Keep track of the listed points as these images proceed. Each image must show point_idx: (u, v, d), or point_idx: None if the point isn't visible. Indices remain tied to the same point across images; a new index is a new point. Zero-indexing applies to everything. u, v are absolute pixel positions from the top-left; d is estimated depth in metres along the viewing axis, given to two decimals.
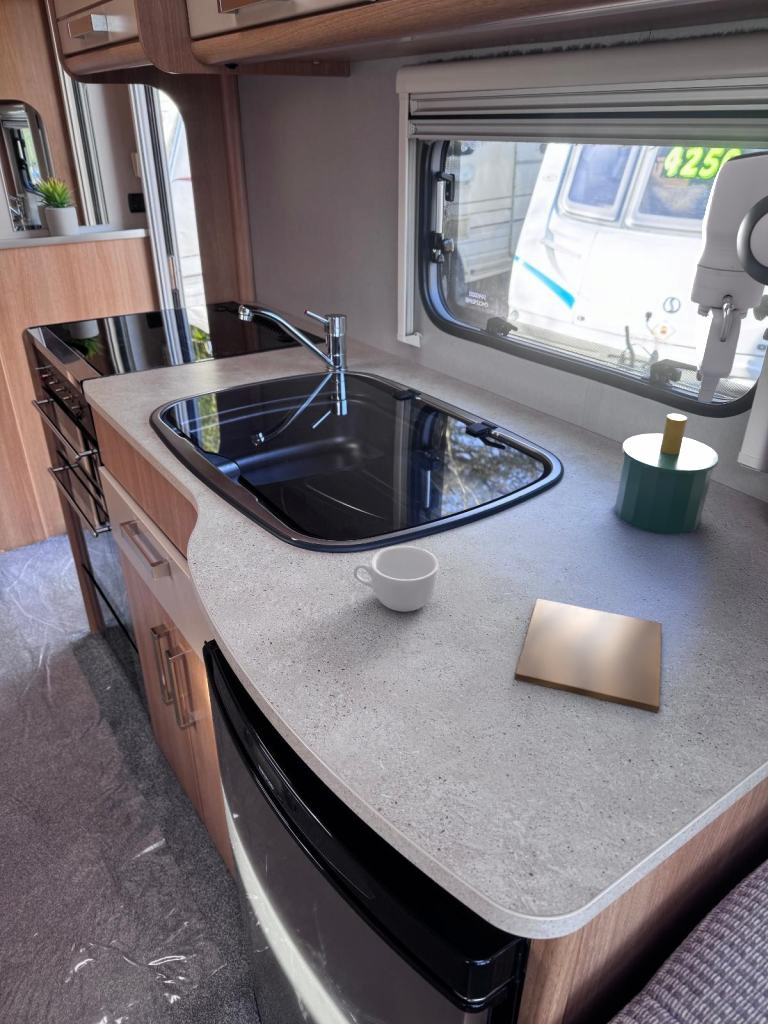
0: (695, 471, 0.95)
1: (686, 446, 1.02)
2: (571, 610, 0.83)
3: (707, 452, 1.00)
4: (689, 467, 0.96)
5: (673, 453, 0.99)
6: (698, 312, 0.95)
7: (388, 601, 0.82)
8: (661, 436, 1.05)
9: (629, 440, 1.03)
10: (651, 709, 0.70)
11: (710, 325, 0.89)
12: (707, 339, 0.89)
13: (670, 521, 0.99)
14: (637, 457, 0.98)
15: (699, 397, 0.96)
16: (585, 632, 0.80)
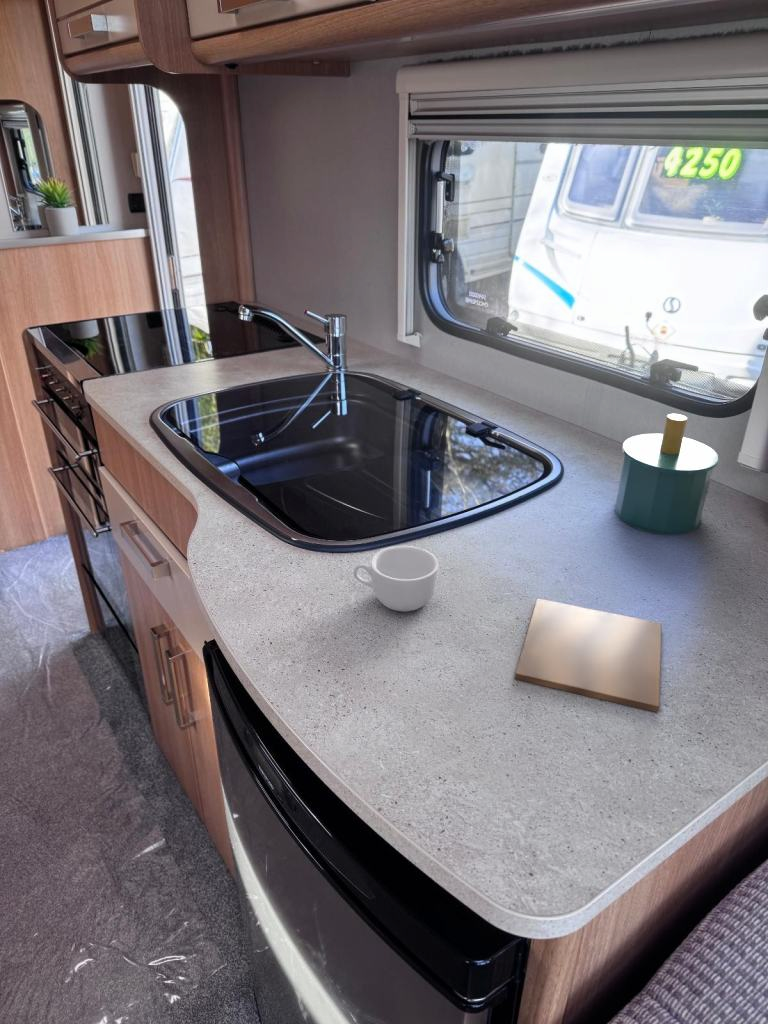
0: (695, 471, 0.95)
1: (686, 446, 1.02)
2: (571, 610, 0.83)
3: (707, 452, 1.00)
4: (689, 467, 0.96)
5: (673, 453, 0.99)
6: None
7: (388, 601, 0.82)
8: (661, 436, 1.05)
9: (629, 440, 1.03)
10: (651, 709, 0.70)
11: None
12: None
13: (670, 521, 0.99)
14: (637, 457, 0.98)
15: None
16: (585, 632, 0.80)
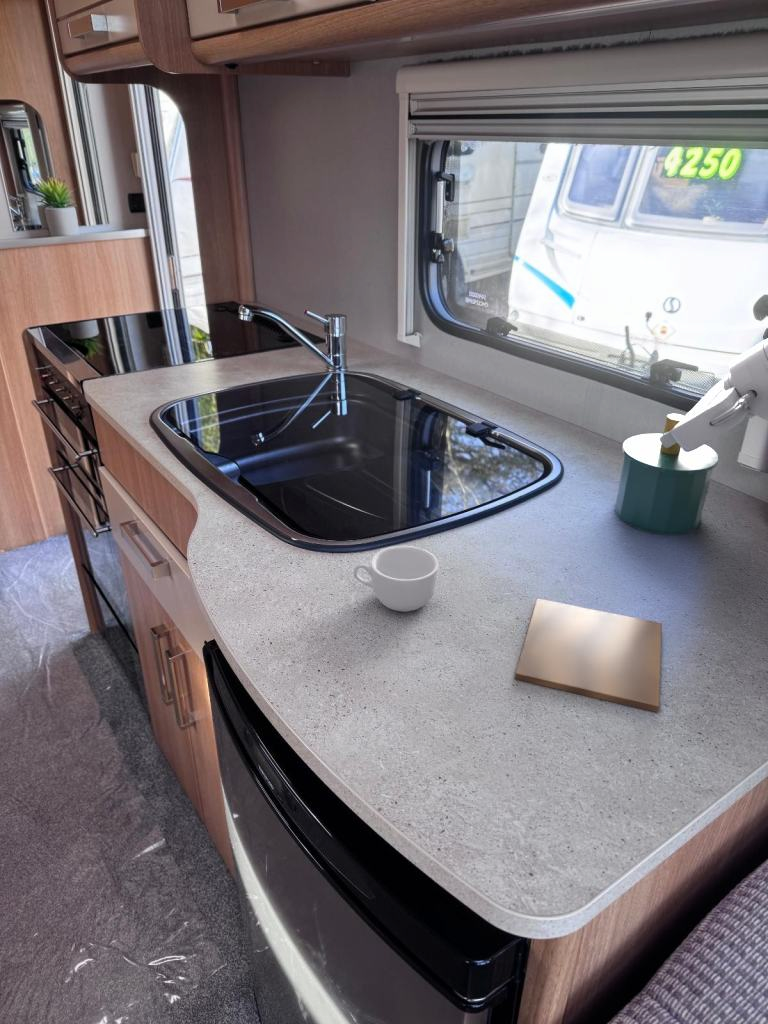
0: (695, 471, 0.95)
1: None
2: (571, 610, 0.83)
3: (707, 452, 1.00)
4: (689, 467, 0.96)
5: (673, 453, 0.99)
6: (724, 380, 0.91)
7: (388, 601, 0.82)
8: None
9: (629, 440, 1.03)
10: (651, 709, 0.70)
11: (716, 403, 0.86)
12: (703, 411, 0.87)
13: (670, 521, 0.99)
14: (637, 457, 0.98)
15: (662, 436, 0.97)
16: (585, 632, 0.80)
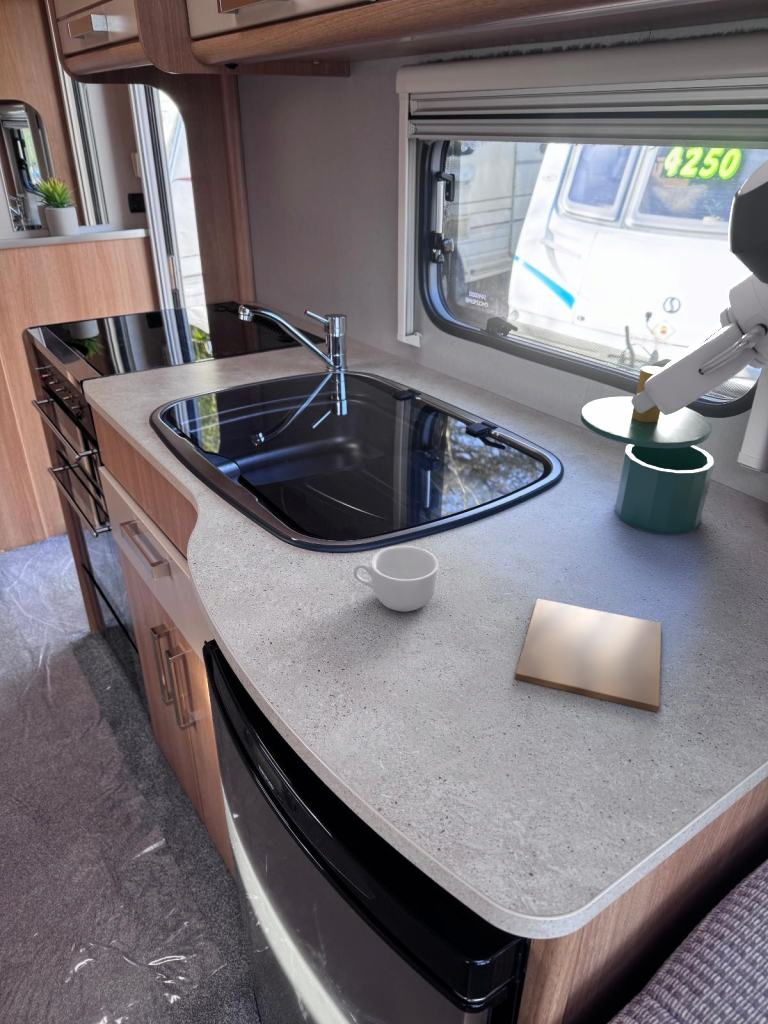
0: (678, 444, 0.68)
1: None
2: (571, 610, 0.83)
3: (696, 420, 0.73)
4: (670, 439, 0.68)
5: (649, 420, 0.72)
6: (721, 314, 0.64)
7: (388, 601, 0.82)
8: None
9: (592, 404, 0.76)
10: (651, 709, 0.70)
11: (708, 342, 0.59)
12: (689, 354, 0.59)
13: (670, 521, 0.99)
14: (599, 425, 0.71)
15: (635, 397, 0.70)
16: (585, 632, 0.80)
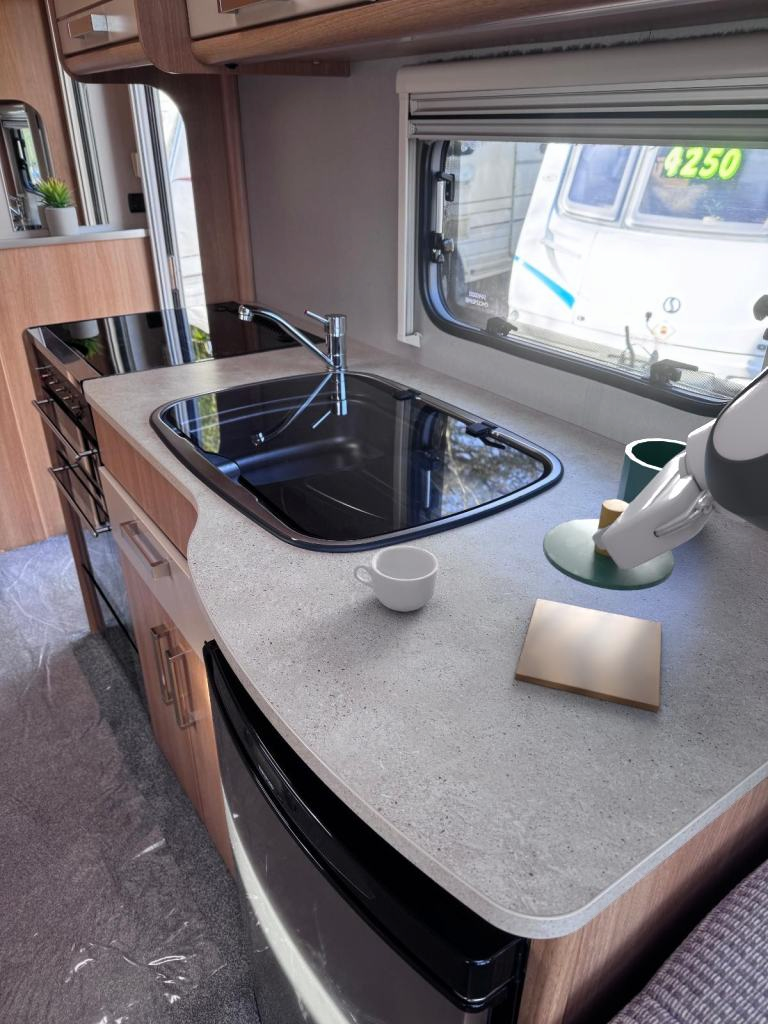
0: (639, 586, 0.67)
1: None
2: (571, 610, 0.83)
3: None
4: (631, 580, 0.67)
5: None
6: (680, 462, 0.63)
7: (388, 601, 0.82)
8: None
9: (555, 530, 0.75)
10: (651, 709, 0.70)
11: (663, 504, 0.57)
12: (644, 515, 0.58)
13: None
14: (560, 561, 0.70)
15: (596, 534, 0.69)
16: (585, 632, 0.80)
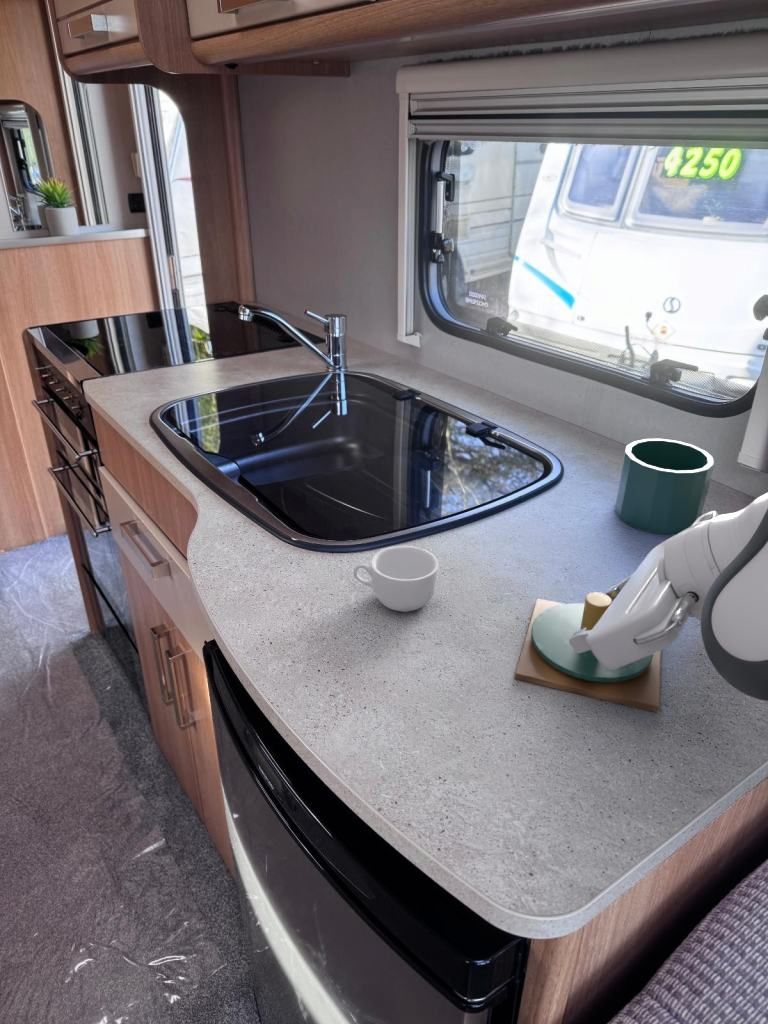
0: (619, 678, 0.72)
1: None
2: None
3: None
4: (612, 671, 0.72)
5: None
6: (659, 566, 0.68)
7: (388, 601, 0.82)
8: None
9: (543, 616, 0.80)
10: (651, 709, 0.70)
11: (642, 615, 0.62)
12: (624, 623, 0.63)
13: (670, 521, 0.99)
14: (547, 651, 0.75)
15: (572, 639, 0.72)
16: None
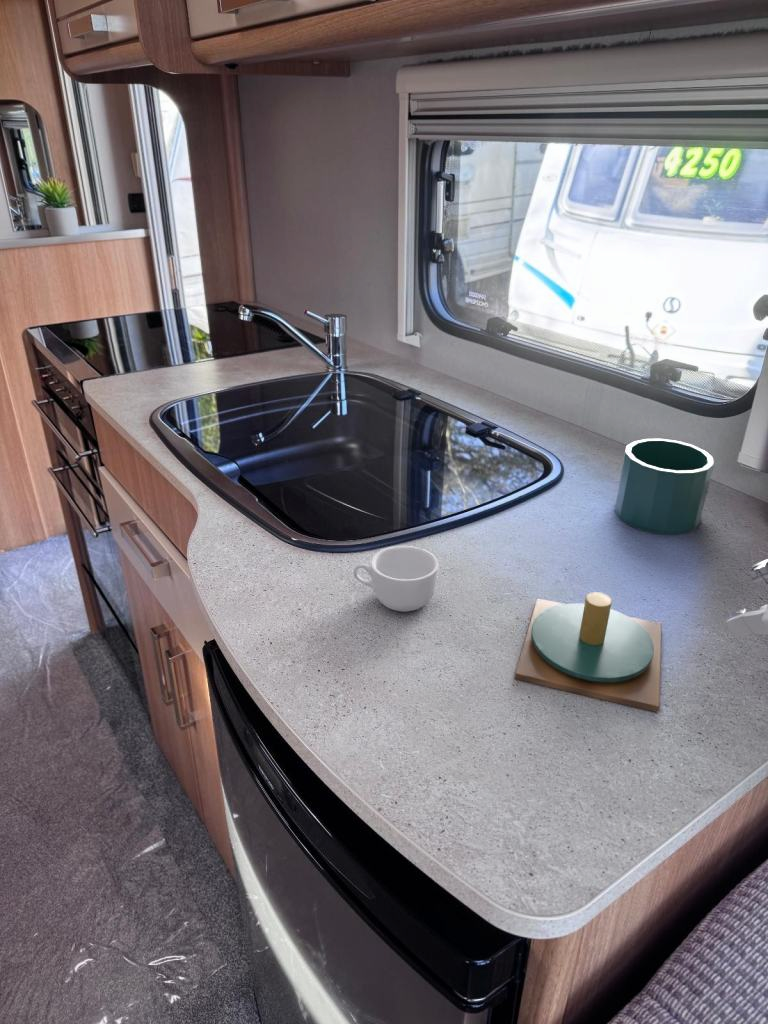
0: (619, 678, 0.72)
1: (615, 627, 0.78)
2: None
3: (640, 640, 0.77)
4: (612, 671, 0.72)
5: (595, 643, 0.76)
6: None
7: (388, 601, 0.82)
8: None
9: (543, 616, 0.80)
10: (651, 709, 0.70)
11: None
12: None
13: (670, 521, 0.99)
14: (547, 651, 0.75)
15: (730, 621, 0.61)
16: None
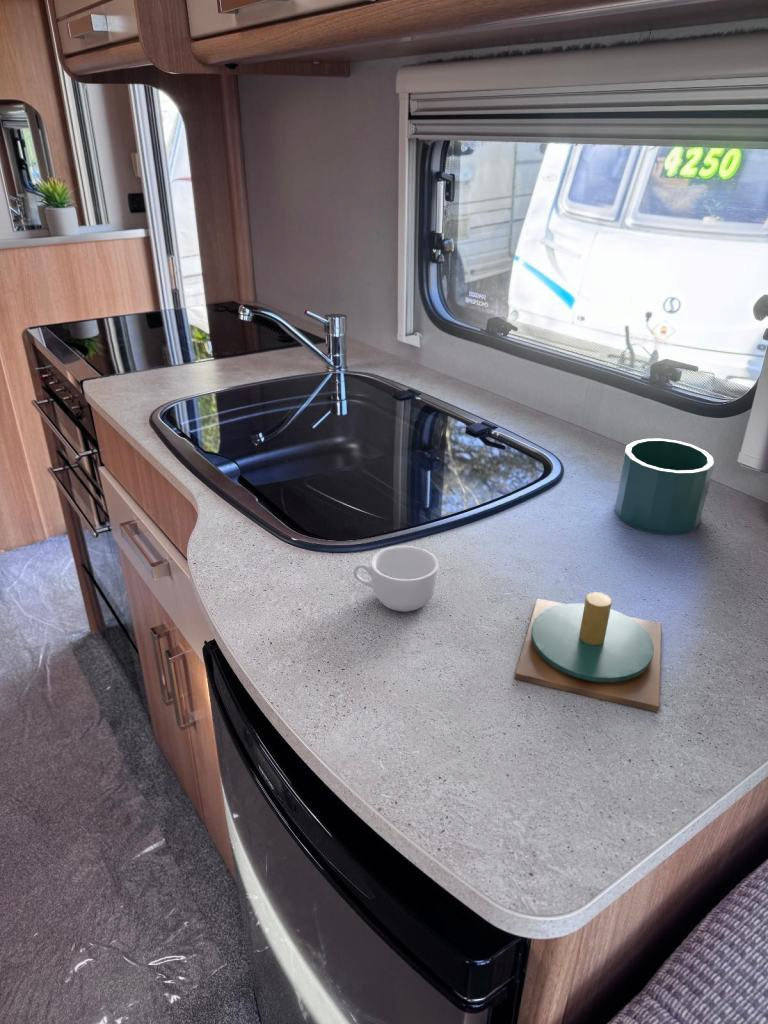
0: (619, 678, 0.72)
1: (615, 627, 0.78)
2: None
3: (640, 640, 0.77)
4: (612, 671, 0.72)
5: (595, 643, 0.76)
6: None
7: (388, 601, 0.82)
8: None
9: (543, 616, 0.80)
10: (651, 709, 0.70)
11: None
12: None
13: (670, 521, 0.99)
14: (547, 651, 0.75)
15: None
16: None
